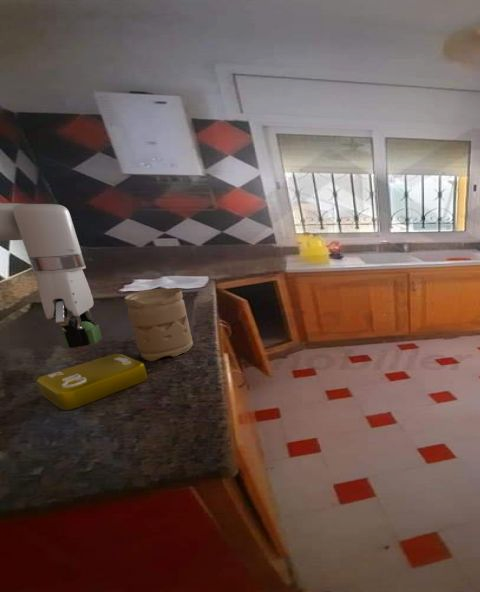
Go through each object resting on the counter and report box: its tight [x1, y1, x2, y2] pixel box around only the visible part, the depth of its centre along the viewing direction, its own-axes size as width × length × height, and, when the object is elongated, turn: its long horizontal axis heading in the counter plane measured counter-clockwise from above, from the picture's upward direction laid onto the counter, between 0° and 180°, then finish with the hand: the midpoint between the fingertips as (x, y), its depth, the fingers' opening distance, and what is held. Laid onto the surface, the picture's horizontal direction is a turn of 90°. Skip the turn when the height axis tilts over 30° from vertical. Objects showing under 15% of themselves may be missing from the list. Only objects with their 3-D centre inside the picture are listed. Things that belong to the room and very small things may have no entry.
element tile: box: [36, 353, 148, 411], centre depth 75 cm, size 15×15×5 cm
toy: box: [61, 322, 103, 349], centre depth 72 cm, size 5×4×5 cm
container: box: [124, 287, 194, 362], centre depth 92 cm, size 13×13×18 cm
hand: (84, 341), depth 72 cm, fingers closed on toy, 4 cm apart
